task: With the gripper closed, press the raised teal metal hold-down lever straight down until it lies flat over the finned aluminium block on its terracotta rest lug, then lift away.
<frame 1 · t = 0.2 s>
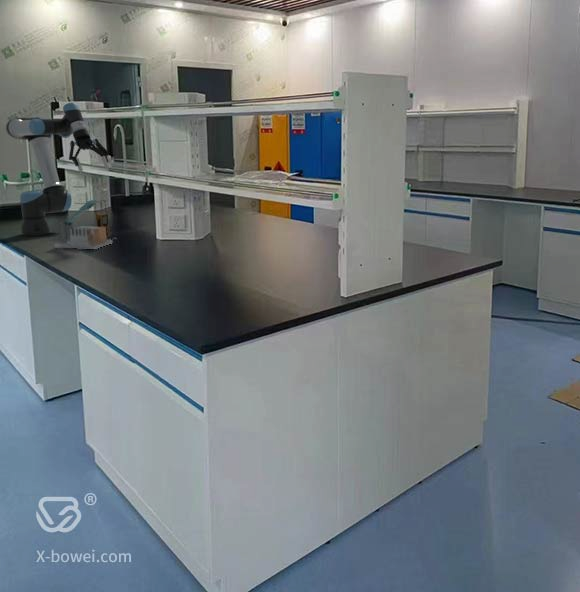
hand: (94, 170, 308), 36 cm above the worktop, tool tilted 35°, fingers open, 13 cm apart
multimeter: (110, 238, 326), on the worktop
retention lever: (78, 213, 303), point 16 cm above the worktop, hinge at 35.0°
heatsink base: (84, 245, 307), on the worktop
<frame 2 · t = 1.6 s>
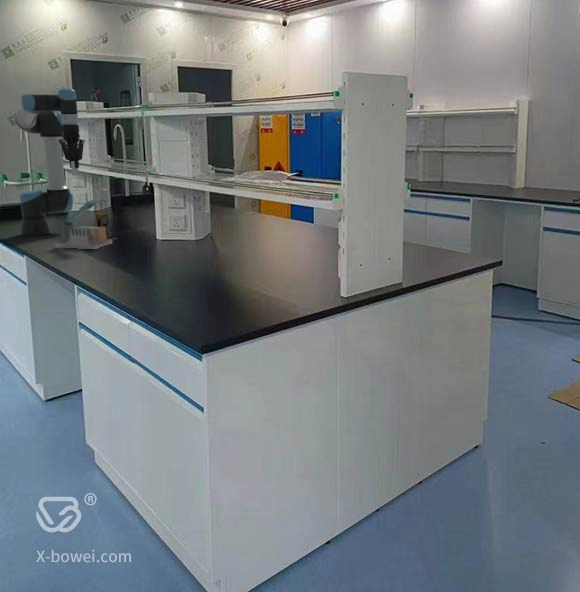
hand: (75, 175, 298), 34 cm above the worktop, tool pointing down, fingers closed
nothing on the worktop moved.
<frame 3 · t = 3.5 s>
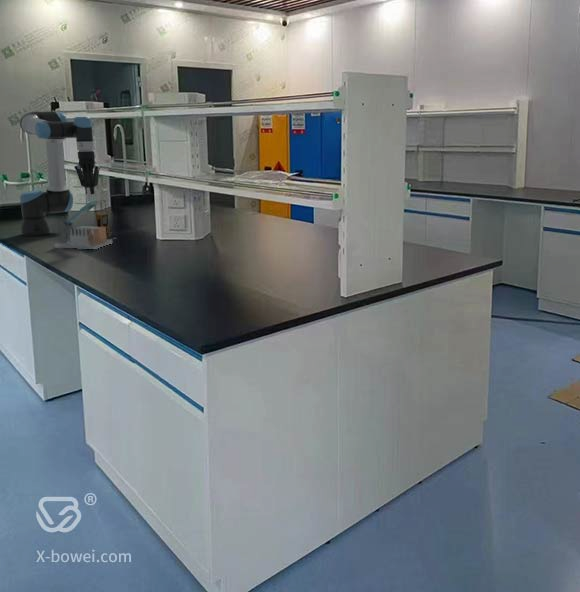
hand: (90, 201, 299), 22 cm above the worktop, tool pointing down, fingers closed
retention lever: (79, 214, 303), point 16 cm above the worktop, hinge at 33.2°, touching gripper
everything else where it was.
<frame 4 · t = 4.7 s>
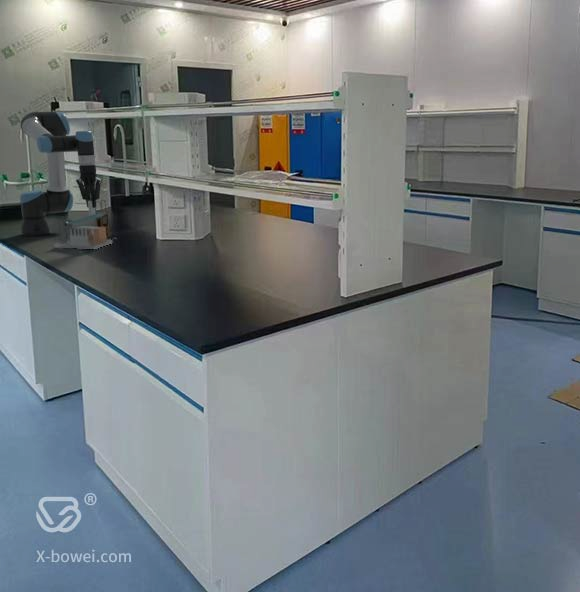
hand: (92, 214, 301), 16 cm above the worktop, tool pointing down, fingers closed
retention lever: (81, 219, 303), point 13 cm above the worktop, hinge at 14.5°, touching gripper
everything else where it was.
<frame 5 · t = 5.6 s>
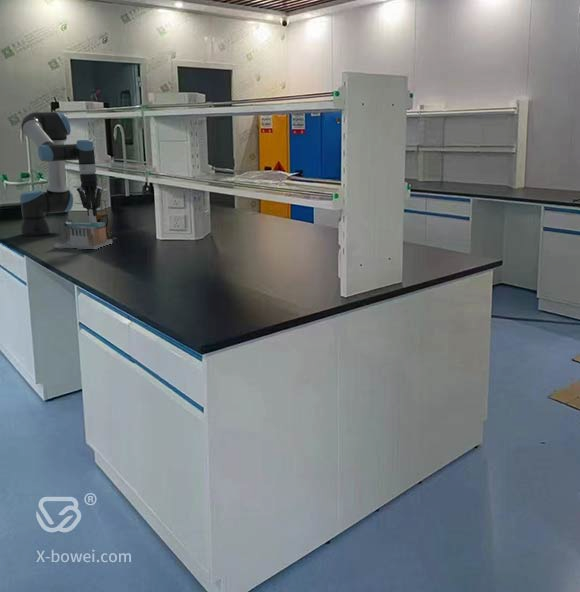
hand: (93, 222, 302), 12 cm above the worktop, tool pointing down, fingers closed, pressing on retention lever
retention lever: (82, 224, 304), point 11 cm above the worktop, hinge at 0.8°, touching gripper
everything else where it was.
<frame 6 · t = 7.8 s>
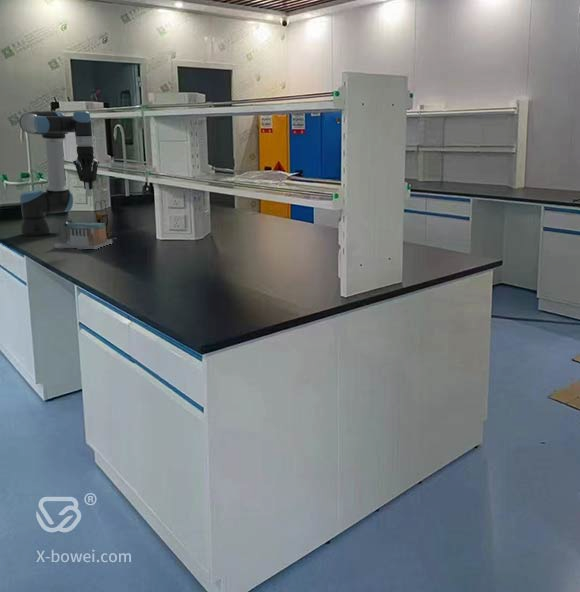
hand: (89, 196, 299), 25 cm above the worktop, tool pointing down, fingers closed
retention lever: (82, 224, 304), point 10 cm above the worktop, hinge at -0.3°
everything else where it was.
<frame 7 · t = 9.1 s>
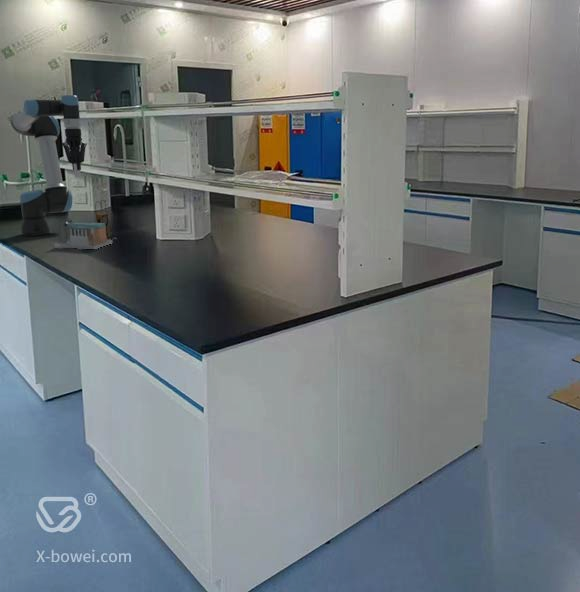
hand: (77, 176, 311), 32 cm above the worktop, tool pointing down, fingers closed
nothing on the worktop moved.
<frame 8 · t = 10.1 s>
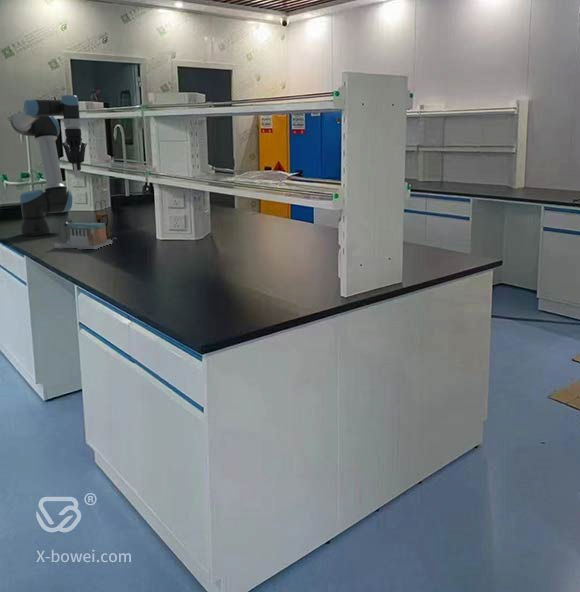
hand: (77, 176, 311), 32 cm above the worktop, tool pointing down, fingers closed
nothing on the worktop moved.
at the end: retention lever at +0° (first picture: +35°) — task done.
